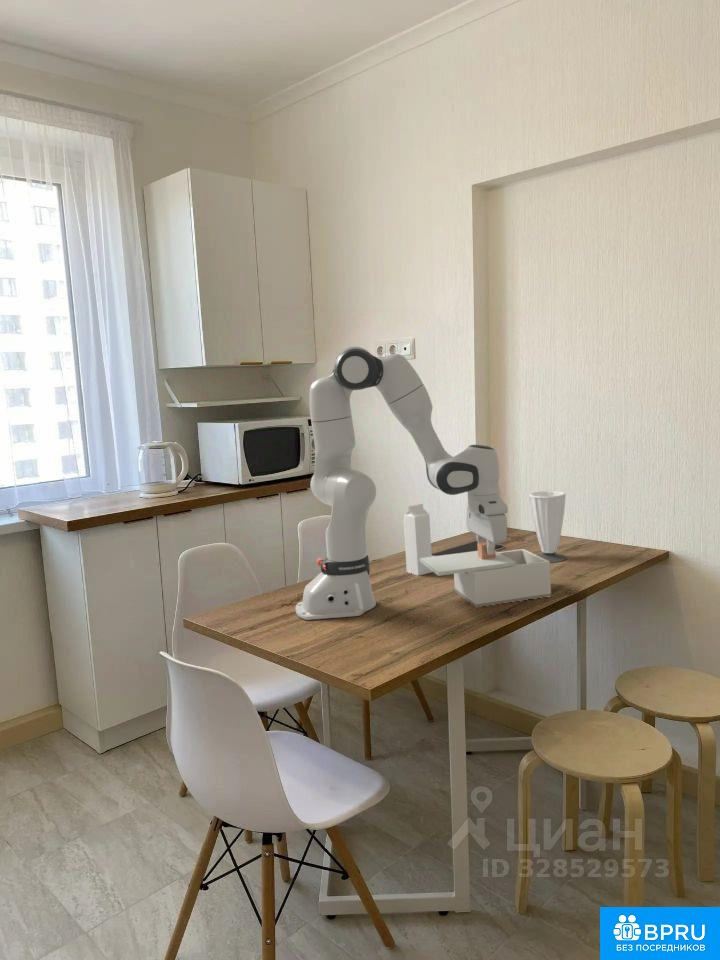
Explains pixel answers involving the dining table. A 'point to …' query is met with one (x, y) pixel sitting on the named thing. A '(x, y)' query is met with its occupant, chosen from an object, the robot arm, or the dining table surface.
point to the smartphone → (464, 549)
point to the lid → (467, 561)
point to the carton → (506, 580)
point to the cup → (548, 522)
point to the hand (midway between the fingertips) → (486, 552)
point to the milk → (417, 539)
